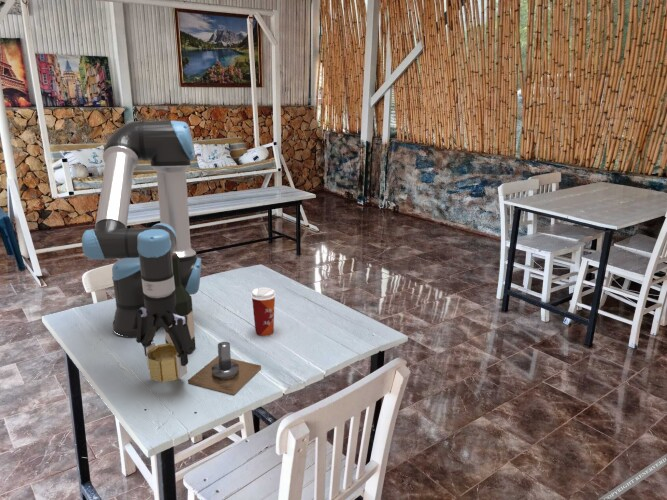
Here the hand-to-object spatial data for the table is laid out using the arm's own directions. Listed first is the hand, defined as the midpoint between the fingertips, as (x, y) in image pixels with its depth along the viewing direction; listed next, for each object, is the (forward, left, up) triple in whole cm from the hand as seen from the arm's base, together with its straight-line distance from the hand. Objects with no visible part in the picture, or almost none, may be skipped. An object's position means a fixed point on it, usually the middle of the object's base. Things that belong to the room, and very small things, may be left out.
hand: (167, 371), depth 137 cm
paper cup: (+8, +36, -4) cm, 38 cm away
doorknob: (+11, +9, -4) cm, 15 cm away
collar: (0, 0, 0) cm, 0 cm away
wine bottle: (-9, +16, -4) cm, 19 cm away
